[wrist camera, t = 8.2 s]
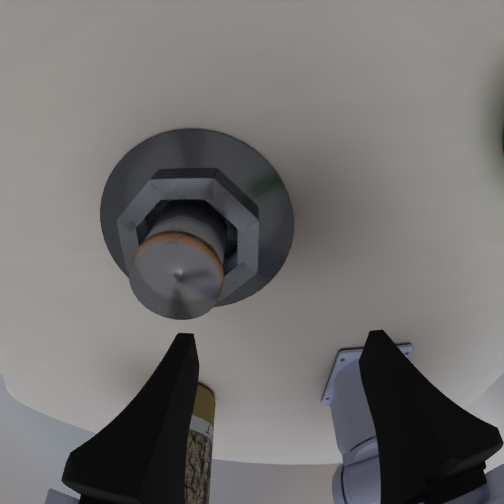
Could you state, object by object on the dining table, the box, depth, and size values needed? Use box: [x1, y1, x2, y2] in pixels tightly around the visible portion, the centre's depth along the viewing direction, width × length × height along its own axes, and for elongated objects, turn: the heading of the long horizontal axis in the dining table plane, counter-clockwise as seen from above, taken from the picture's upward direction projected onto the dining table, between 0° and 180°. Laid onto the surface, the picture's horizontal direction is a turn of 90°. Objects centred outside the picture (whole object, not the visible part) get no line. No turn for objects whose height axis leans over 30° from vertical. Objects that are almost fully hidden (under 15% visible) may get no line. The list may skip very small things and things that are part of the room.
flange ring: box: [100, 129, 294, 307], centre depth 19 cm, size 13×13×2 cm
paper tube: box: [185, 384, 215, 504], centre depth 20 cm, size 7×7×25 cm
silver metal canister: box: [129, 199, 228, 320], centre depth 17 cm, size 5×5×6 cm
